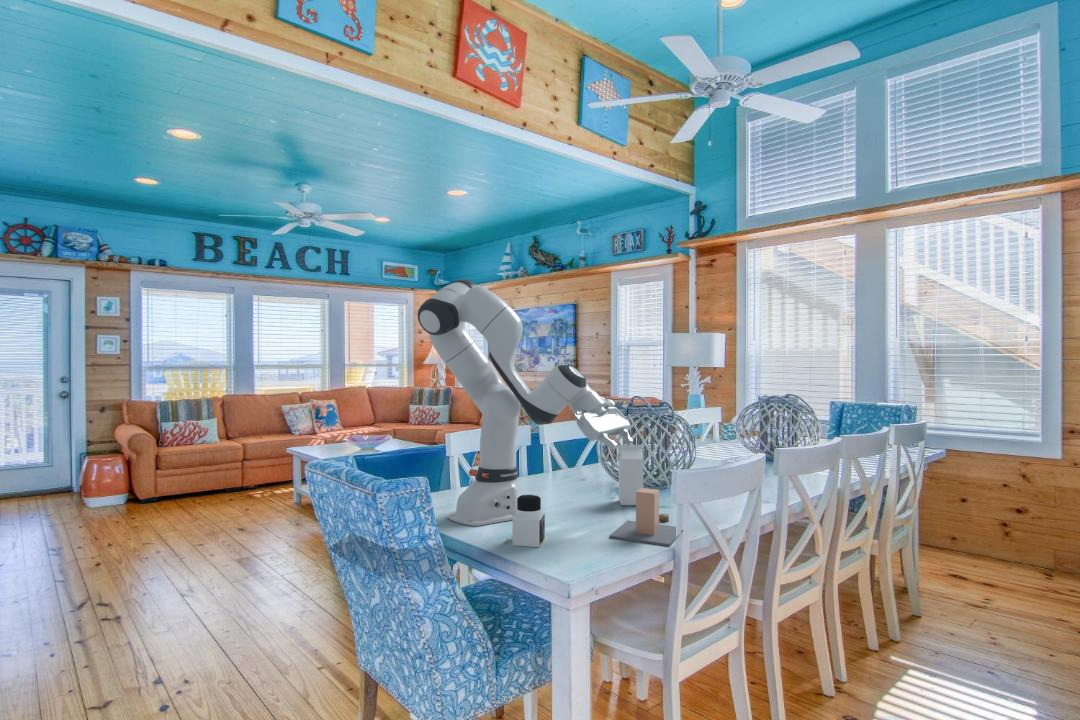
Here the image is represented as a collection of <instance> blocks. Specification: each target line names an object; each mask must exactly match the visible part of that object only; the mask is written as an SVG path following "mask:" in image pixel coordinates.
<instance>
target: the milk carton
mask: <svg viewBox="0 0 1080 720" xmlns="http://www.w3.org/2000/svg"><path fill="white" fill-rule="evenodd" d="M643 453H644V452H643V445H642V444H631V445H627V444H620V445H619V452H618V501H619V504H620V505H621V506H636V491H638V490H639V489H641V488H644V461H645V460H644V454H643Z"/></svg>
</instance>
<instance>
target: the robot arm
mask: <svg viewBox="0 0 1080 720" xmlns="http://www.w3.org/2000/svg"><path fill="white" fill-rule="evenodd" d="M416 315H417V320H418V324H419V326H420V327H421V328H422V330H424V332H426V333H427V334H428V336H429V340H430V341H431V343H432V346H433V347H434V349H435V351H436V353H437V354H438V356H439V357H440V359H441V360H442V362H443V363H444V364H445V365H446V367H447V368H448V369H449V371H450V372H451V374H452V375H453V376H454V377H455V379H456V380H457V381H458V383H459V384H460V385H461V387H462V388H463V390H464V391H465V393H467V395H468V397H469V398H470V399H471V400H472V401H473V403H474V405H475V406H476V407H477V409H478V410H479V412H480V413H481V414H482V417H481V432H480V440H479V466H478V468H477V470H476V469H474V468H470V469H469V470H468V475H469V476H471V477H474V480H473V481H472V483H471V484H469V486H468V487H467V488H466V489H465V490H464V491H463V492H462V493H461V494H459V496H458V497H457V500H456V506H455V507H456V509H455V511H451V512H449V513H448V519H449V520H451V521H453V522H455V523H458V524H460V525H461V524H462V525H466V526H472V527H473V526H475V527H478V526H484V525H490V524H496V523H502V522H506V521H507V522H508V521H511V520H512V521H513V517H514V516H515V515H516V514H517V498H518V497H519V491H518V484H517V479H518V477H519V476H518V473H519V472H518V471H519V470H518V466H517V435H518V430H519V422H520V410H521V407H522V408H523V410H524V412H525V413H526V416H527V417H528V418H529V419H530V420H531V421H532V422H534V423H535V424H536V425H550V424H553V422H554V421H555V420H556V419H557V417H558V416H559V415H560V413H561V412H562V411H563V410H564V409H565V408H566V407H567V406H568V407H569V408H570V410H571V411H572V413H573V414H574V419H575V421H576V424H577V426H578V428H579V430H580V431H581V432H582V433H583V435H584V436H585V438H586V439H587V440H589V441H591V442H593V441H597V440H598V441H599V442H600V443H602V444H603V445H605V446H607V448H608V449H610V450H611V451H612V450H613V451H614V450H615V449H616V448H617V447H618V443H616V442H615V440H612V439H611V437H614V436H615V437H616V436H618V435H619V436H620V437H621V438H622V439H623V443H625V445H633V443H634V439H633V438H632V437H631V435H630V433H629V431H628V430H629V429H630V428H631V422H630V420H629V419H627V417H626V416H625V414H623V412H621V410H620V409H619V408H617V407H616V406H615V404H616V403H615V402H614V401H613V400H612V399H609V398H605V397H603V396H601V395H599V394H598V393H597V392H596V390H594V389H592V388H591V387H590V386H589V384H588V382H587V378H586V377H585V376H584V375H583V374H582V373H581V372H580V370H578V369H577V368H576V366H574V365H572V364H567V363H560V364H558V365H555V366H554V367H553V368H551V370H550V371H549V373H548V374H547V375H546V377H545V378H544V379H543V380H542V381H541V382H540V383H539V385H537V386H536V387H535V388H534V389H532V390H531V389H530V388H529V386H528V385H527V383H525V381H524V380H523V378H522V377H521V375H520V374H519V373H518V371H517V370H516V368H515V365H514V358H515V354H516V351H517V349H518V347H519V344H520V341H521V339H522V336H523V327H524V326H523V322H522V318H520V316H519V315H518V313H516V311H515V310H513V308H512V307H511V306H510V305H509V304H508V303H507V302H505V301H504V300H503V299H502V298H501V297H500V296H498V295H497V294H496V293H495V292H493V291H491V289H488V288H487V287H486V286H482V285H477V284H475V283H474V282H473V281H471V280H470V279H465V278H463V279H457V280H455V281H452V282H450V284H448V285H447V284H446V286H444V287H442V288H440V289H438V290H437V292H435V293H434V294H433V295H432V296H431V297H430V298H428V299H426V300H425V301H424V302H423V303H422V304H421V305H420V306H419V308H418V310H417V314H416ZM465 323H468V324H470V325H471V326H473V327H474V329H476V330H477V331H478V332H479V334H481V336H483V338H484V339H485V340H486V342H487V344H488V347H489V354H488V357H487V356H486V354H484V352H483V351H482V349H481V348H480V346H479V345H478V344H477V342H476V341H475V340H474V339H473V337H472V336H471V335H470V334H469V333H468V330H467V329H466V326H465ZM497 372H498V373H497ZM501 378H502V379H501ZM502 380H503V381H504V382H503V381H502Z"/></svg>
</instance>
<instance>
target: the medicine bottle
mask: <svg viewBox="0 0 1080 720" xmlns="http://www.w3.org/2000/svg"><path fill="white" fill-rule="evenodd" d="M541 502H542V498H541V497H540V496H538V495H537V494H530V493H527V494H522V495H520V496H519V495H518V498H517V514H516V515H515V516H514V517H513V520H512V546H513V547H527V548H540V547H541V546H542V544H543V542H544V541H545V539H546V537H545V534H546V533H545V532H546V530H545V527H546V526H545V524H546V522H545V521H546V520H545V519H546V513H545V511H541V510H542V509H541V507H542V506H541V505H542V503H541Z"/></svg>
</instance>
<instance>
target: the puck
mask: <svg viewBox="0 0 1080 720" xmlns="http://www.w3.org/2000/svg"><path fill="white" fill-rule="evenodd" d="M660 521H661V523H668V522H669V521H670V515H668V514H665V513H659V522H660Z"/></svg>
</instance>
